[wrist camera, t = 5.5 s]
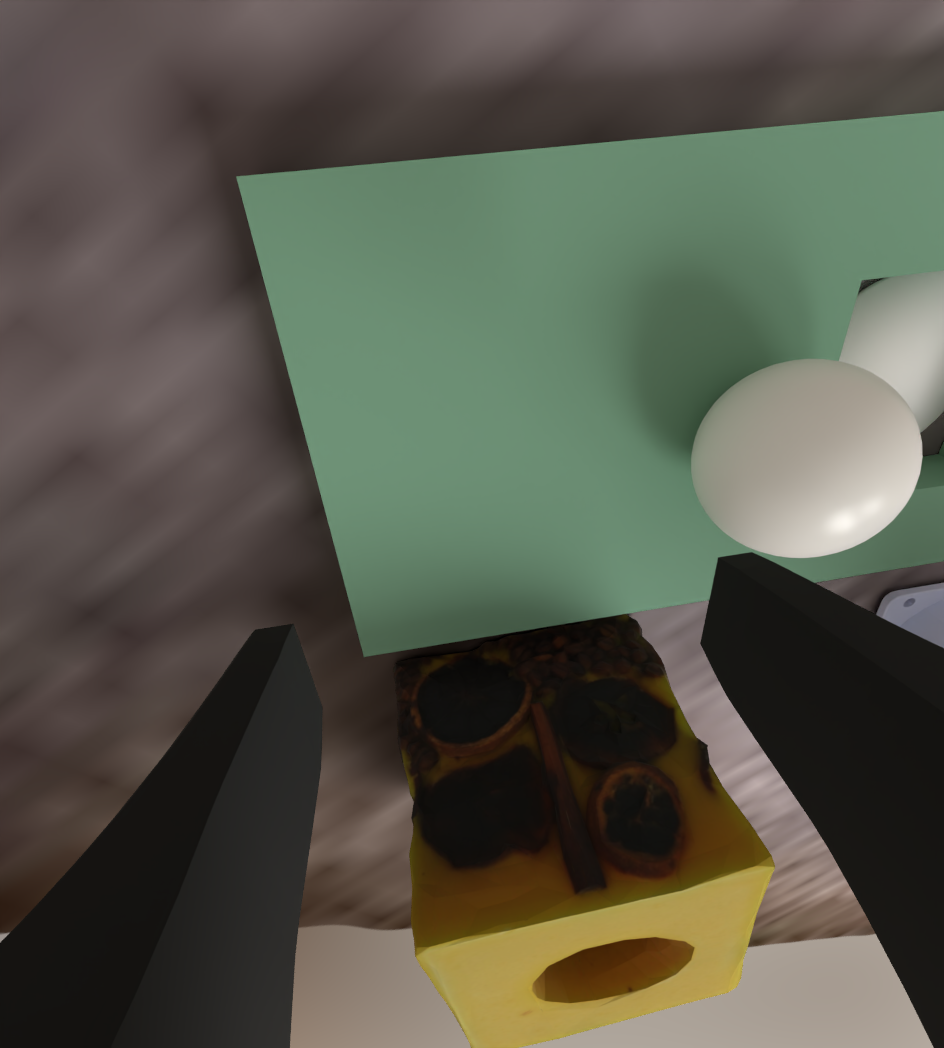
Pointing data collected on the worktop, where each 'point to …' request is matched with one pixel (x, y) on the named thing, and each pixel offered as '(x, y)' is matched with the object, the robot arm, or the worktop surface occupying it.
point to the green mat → (587, 355)
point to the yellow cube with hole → (568, 836)
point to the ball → (806, 458)
